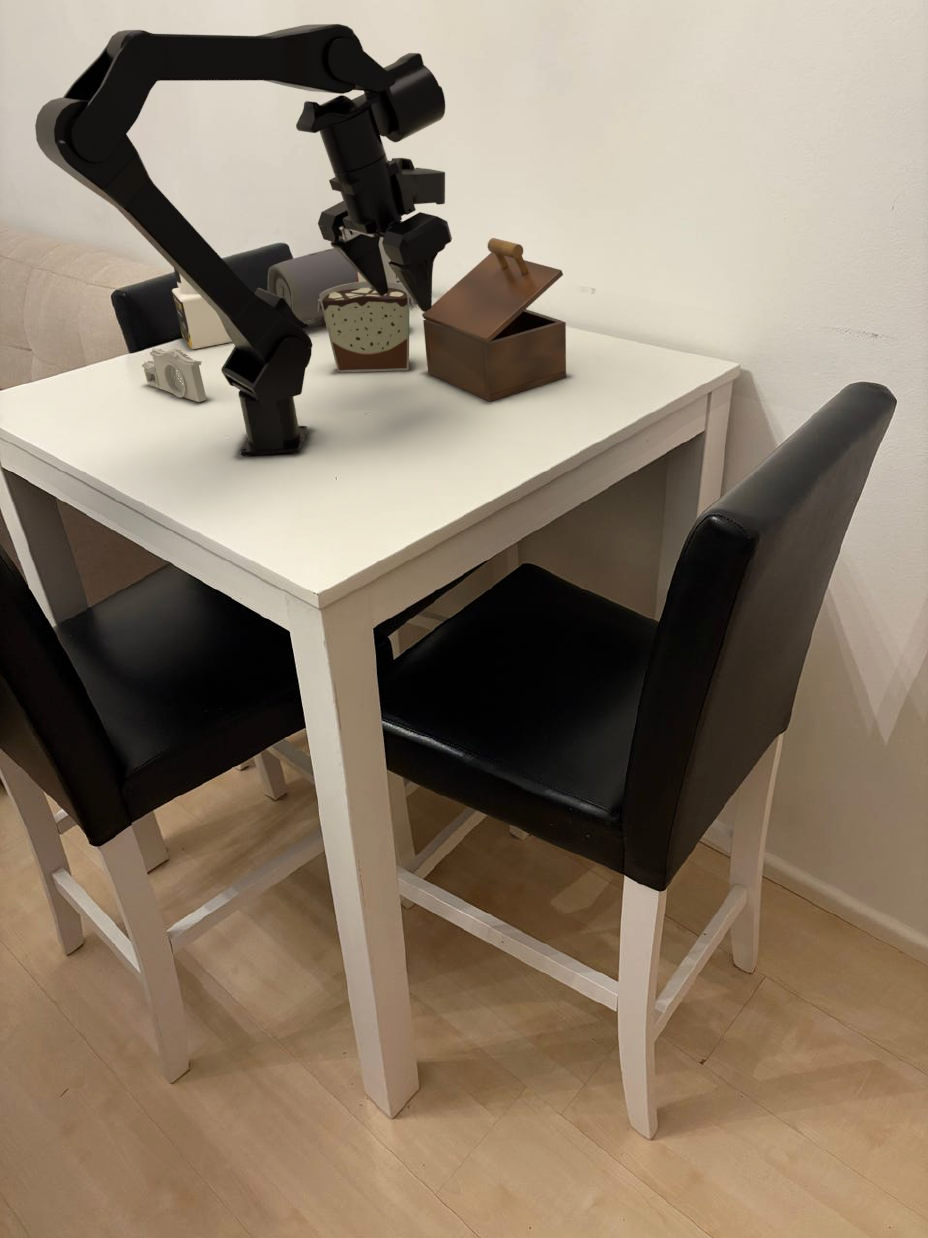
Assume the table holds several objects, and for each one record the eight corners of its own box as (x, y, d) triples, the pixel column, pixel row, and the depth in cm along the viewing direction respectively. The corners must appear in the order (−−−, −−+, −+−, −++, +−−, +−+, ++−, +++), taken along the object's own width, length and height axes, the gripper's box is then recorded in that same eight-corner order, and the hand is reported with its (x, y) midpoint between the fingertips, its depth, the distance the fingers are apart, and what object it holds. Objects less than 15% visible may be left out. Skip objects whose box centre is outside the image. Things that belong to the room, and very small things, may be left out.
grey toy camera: (145, 386, 126) (134, 341, 123) (157, 381, 128) (146, 337, 124) (199, 404, 119) (188, 357, 116) (210, 399, 121) (200, 353, 117)
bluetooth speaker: (300, 338, 139) (289, 267, 133) (272, 325, 145) (259, 256, 140) (431, 304, 149) (425, 236, 144) (399, 293, 156) (392, 227, 150)
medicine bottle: (182, 337, 143) (163, 253, 137) (229, 328, 146) (212, 245, 139) (192, 350, 138) (172, 263, 131) (241, 340, 140) (224, 254, 134)
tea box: (500, 351, 129) (498, 299, 125) (566, 377, 119) (566, 321, 115) (427, 373, 123) (422, 319, 120) (490, 401, 114) (487, 344, 110)
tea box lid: (494, 255, 122) (479, 224, 118) (563, 274, 112) (549, 241, 109) (423, 318, 120) (407, 289, 117) (488, 343, 110) (471, 311, 107)
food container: (426, 354, 130) (419, 277, 124) (420, 369, 125) (412, 290, 119) (336, 356, 131) (325, 281, 126) (326, 372, 126) (315, 294, 121)
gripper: (471, 135, 95) (509, 284, 105) (376, 123, 108) (417, 256, 119) (381, 183, 92) (428, 332, 102) (293, 164, 105) (343, 298, 115)
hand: (405, 301), depth 110 cm, fingers open, 9 cm apart
